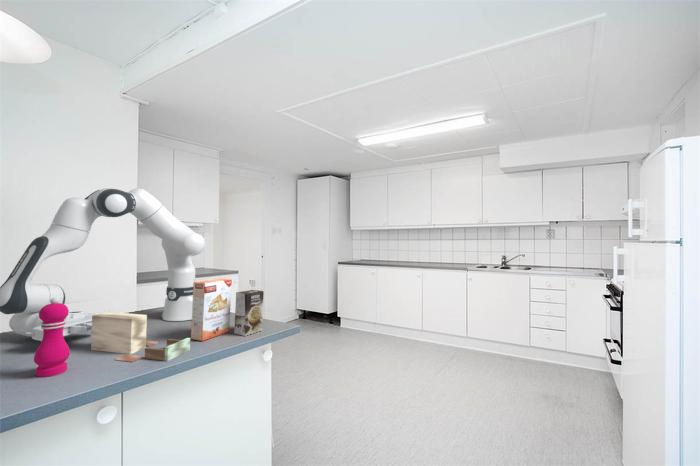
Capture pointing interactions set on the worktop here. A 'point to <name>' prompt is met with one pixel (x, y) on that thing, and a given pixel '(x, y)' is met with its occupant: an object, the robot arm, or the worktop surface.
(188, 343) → the trap course
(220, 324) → the cracker box
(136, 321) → the maple block
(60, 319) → the pepper mill
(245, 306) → the coffee box
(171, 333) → the worktop surface
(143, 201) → the robot arm
